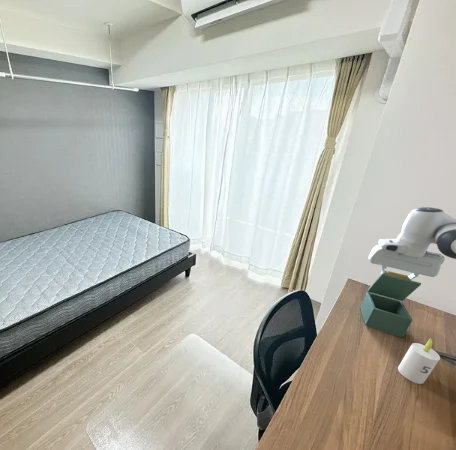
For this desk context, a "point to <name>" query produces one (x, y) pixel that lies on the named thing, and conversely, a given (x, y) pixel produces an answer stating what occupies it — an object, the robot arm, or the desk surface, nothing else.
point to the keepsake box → (385, 314)
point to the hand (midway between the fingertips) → (394, 278)
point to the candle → (419, 362)
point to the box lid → (393, 286)
